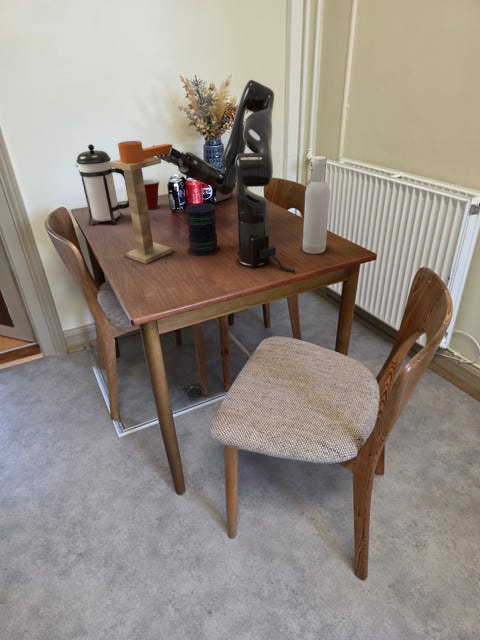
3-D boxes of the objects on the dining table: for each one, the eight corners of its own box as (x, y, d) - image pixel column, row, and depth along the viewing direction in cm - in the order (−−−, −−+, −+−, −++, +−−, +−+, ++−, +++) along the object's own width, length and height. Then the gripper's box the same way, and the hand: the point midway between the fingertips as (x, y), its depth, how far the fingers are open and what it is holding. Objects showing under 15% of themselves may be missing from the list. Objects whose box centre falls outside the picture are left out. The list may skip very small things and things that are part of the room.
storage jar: (192, 257, 141) (188, 213, 134) (187, 246, 150) (182, 205, 142) (221, 253, 144) (218, 210, 136) (214, 242, 152) (211, 201, 144)
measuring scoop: (162, 150, 140) (160, 134, 137) (177, 152, 136) (175, 135, 133) (115, 161, 127) (112, 143, 124) (130, 164, 123) (127, 145, 121)
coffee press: (97, 230, 167) (80, 150, 151) (82, 220, 178) (64, 144, 162) (136, 219, 176) (124, 143, 160) (119, 211, 187) (106, 138, 171)
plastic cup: (165, 203, 194) (162, 177, 188) (159, 211, 185) (156, 183, 179) (143, 204, 195) (139, 177, 189) (136, 211, 186) (131, 183, 180)
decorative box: (241, 199, 197) (240, 178, 191) (208, 209, 185) (207, 187, 180) (222, 194, 205) (221, 173, 200) (190, 203, 193) (188, 182, 188)
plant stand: (153, 245, 151) (139, 154, 135) (172, 251, 146) (160, 158, 129) (126, 256, 144) (108, 161, 127) (146, 263, 138) (129, 165, 122)
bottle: (318, 243, 148) (324, 153, 132) (330, 251, 142) (338, 158, 126) (298, 247, 146) (302, 156, 130) (309, 255, 139) (314, 161, 123)
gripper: (182, 154, 152) (149, 136, 138) (212, 158, 144) (180, 139, 130) (177, 175, 153) (143, 159, 139) (206, 180, 145) (173, 163, 131)
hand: (161, 149), depth 135 cm, fingers open, 8 cm apart
